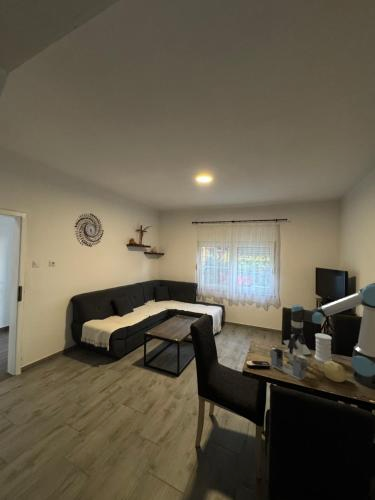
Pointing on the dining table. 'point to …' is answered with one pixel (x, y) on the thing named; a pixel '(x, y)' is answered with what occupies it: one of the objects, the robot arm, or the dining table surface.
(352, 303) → the robot arm
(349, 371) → the dining table surface
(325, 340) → the decorative container
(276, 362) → the bracket stand
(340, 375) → the pale yellow round lump
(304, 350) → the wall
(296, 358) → the rail
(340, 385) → the dining table surface
